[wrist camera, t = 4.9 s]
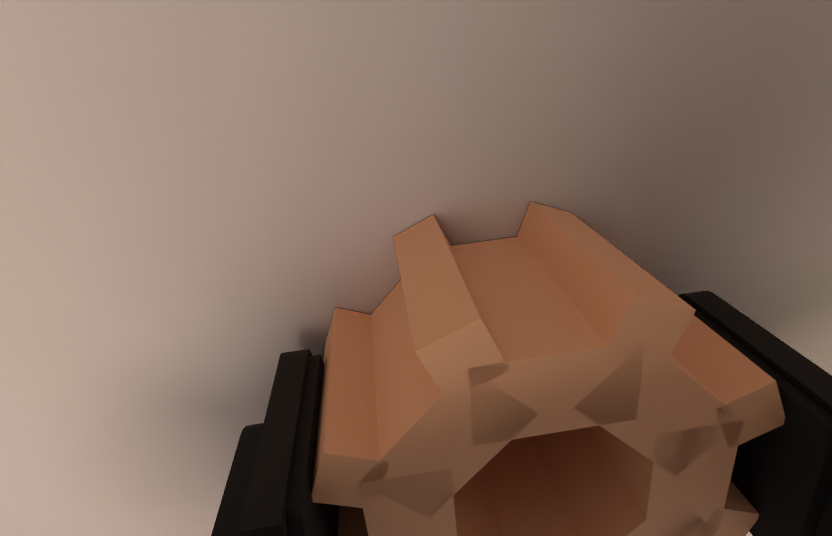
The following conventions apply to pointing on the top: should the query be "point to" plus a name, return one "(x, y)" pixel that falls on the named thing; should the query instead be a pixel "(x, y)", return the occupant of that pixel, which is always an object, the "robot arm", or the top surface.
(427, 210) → the top surface
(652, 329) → the terracotta gear
